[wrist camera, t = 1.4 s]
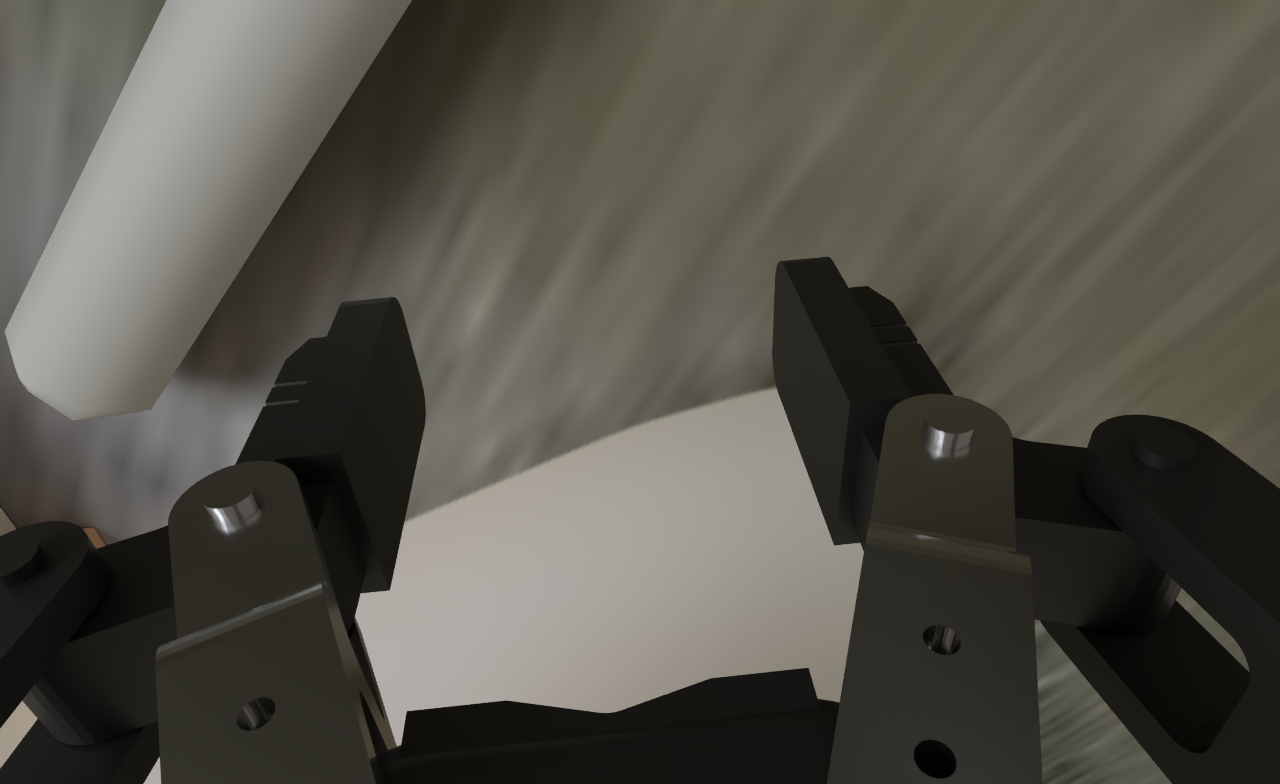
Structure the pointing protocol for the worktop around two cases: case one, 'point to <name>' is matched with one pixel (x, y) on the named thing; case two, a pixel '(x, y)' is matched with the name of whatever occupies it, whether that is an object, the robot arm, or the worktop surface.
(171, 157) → the tube
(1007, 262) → the worktop surface
